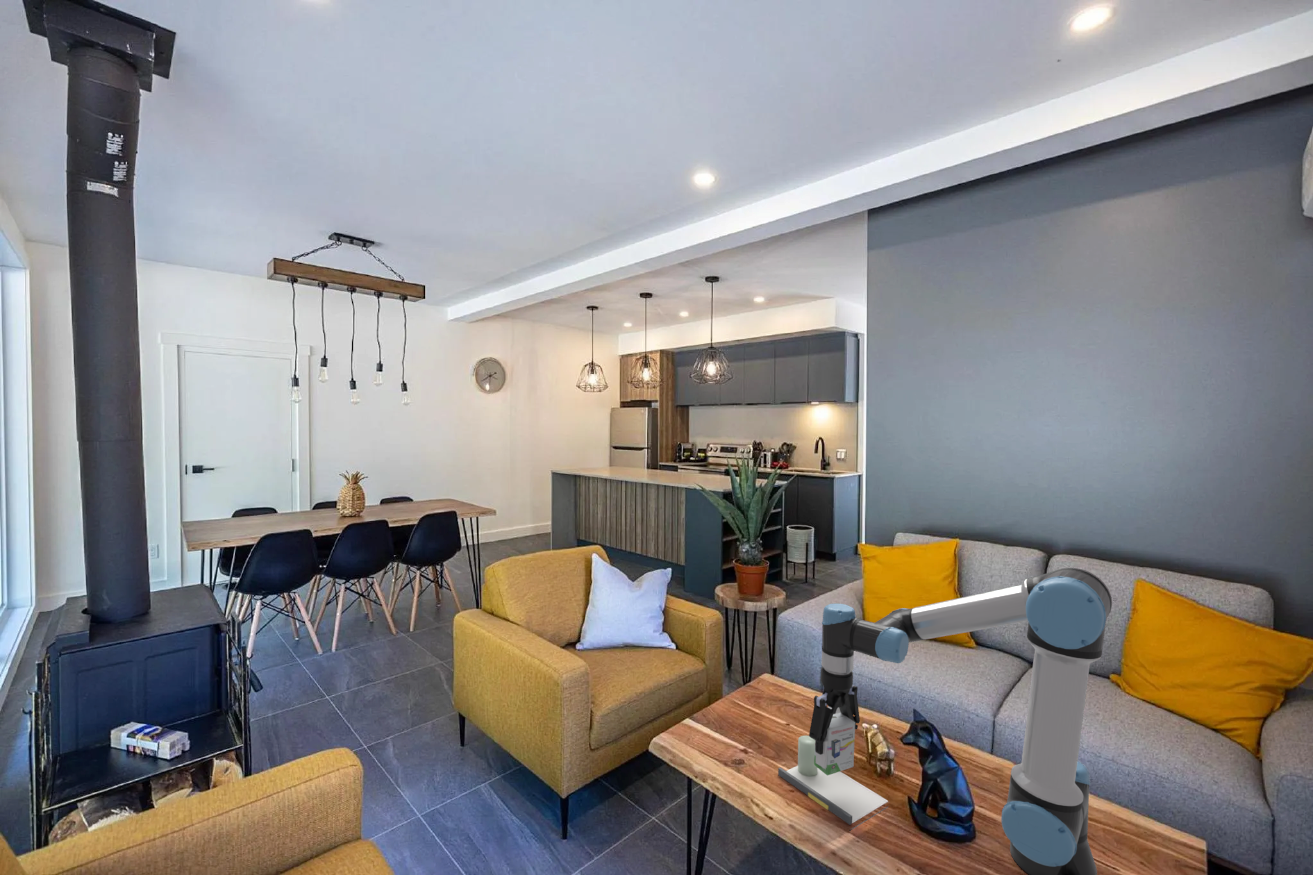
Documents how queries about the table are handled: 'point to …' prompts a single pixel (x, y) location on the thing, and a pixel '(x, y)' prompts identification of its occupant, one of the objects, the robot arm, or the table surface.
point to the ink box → (839, 745)
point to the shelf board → (836, 793)
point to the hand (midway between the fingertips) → (834, 758)
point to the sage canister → (806, 756)
